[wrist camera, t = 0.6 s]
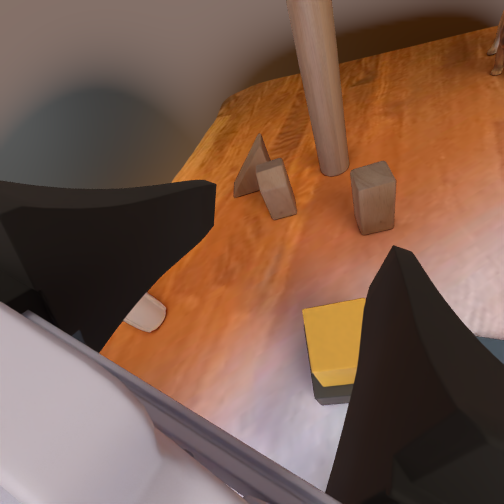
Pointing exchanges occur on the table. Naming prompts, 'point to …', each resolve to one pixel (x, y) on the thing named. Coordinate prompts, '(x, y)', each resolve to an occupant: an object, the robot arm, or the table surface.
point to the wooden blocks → (320, 130)
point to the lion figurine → (498, 48)
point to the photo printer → (146, 314)
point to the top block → (334, 340)
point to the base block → (330, 390)
